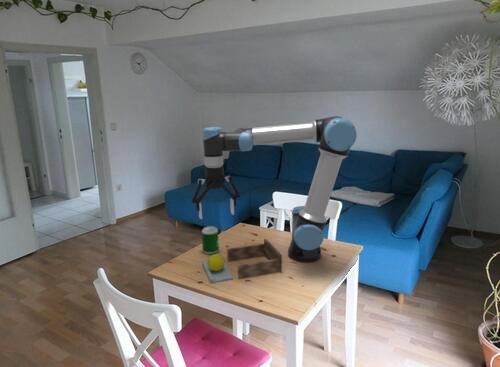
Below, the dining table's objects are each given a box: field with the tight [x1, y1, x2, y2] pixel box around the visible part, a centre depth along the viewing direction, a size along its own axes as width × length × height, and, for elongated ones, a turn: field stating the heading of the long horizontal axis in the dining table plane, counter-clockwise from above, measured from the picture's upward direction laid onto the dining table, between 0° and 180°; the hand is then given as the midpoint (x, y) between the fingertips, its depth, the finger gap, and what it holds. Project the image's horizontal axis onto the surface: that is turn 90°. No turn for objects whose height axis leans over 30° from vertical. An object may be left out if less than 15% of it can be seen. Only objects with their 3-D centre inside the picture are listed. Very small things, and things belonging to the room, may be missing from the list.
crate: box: [226, 238, 283, 280], centre depth 158 cm, size 19×18×8 cm
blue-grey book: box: [201, 260, 234, 284], centre depth 154 cm, size 2×17×9 cm
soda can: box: [201, 225, 220, 255], centre depth 173 cm, size 8×8×12 cm
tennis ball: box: [207, 253, 226, 271], centre depth 154 cm, size 7×7×7 cm
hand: (216, 215), depth 154 cm, fingers open, 13 cm apart
